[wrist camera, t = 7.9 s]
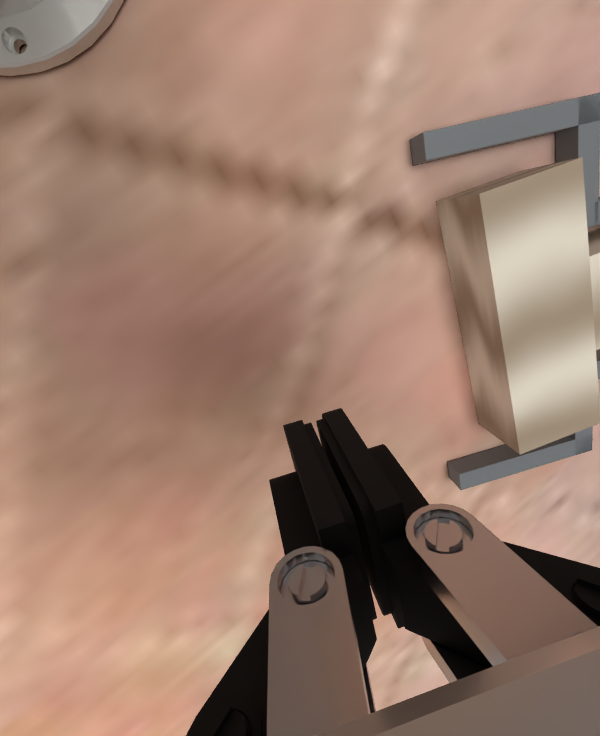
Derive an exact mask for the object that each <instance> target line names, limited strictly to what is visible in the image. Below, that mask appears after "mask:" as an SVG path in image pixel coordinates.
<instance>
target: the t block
mask: <svg viewBox="0 0 600 736" xmlns="http://www.w3.org/2000/svg"><path fill="white" fill-rule="evenodd" d="M436 205H437V210H438V215H439V221H440V226H441V231H442V236H443V241H444V247H445V252H446V257H447V262H448V267H449V273H450V278H451V283H452V288H453V293H454V299H455V304H456V309H457V314H458V319H459V325H460V330H461V335H462V340H463V345H464V351H465V356H466V361H467V366H468V371H469V377H470V382H471V387H472V392H473V397H474V402H475V408H476V413H477V418H478V423H479V424H480V425H481V426H482V427H484V428H485V429H486V430H488V431H489V432H490V433H492V434H493V435H494V436H496V437H497V438H498V439H500V440H501V441H502V442H504V443H505V444H506V445H508V446H509V447H510V448H512V449H513V450H514V451H516V452H517V453H518V454H523V453H525V452H528V451H530V450H533V449H536V448H538V447H541V446H543V445H546V444H548V443H551V442H553V441H556V440H558V439H561V438H563V437H566V436H569V435H571V434H574V433H576V432H579V431H581V430H584V429H586V428H589V427H591V426H594V425H596V424H599V423H600V401H599V387H598V373H597V359H596V350H598V349H600V228H599V229H597V230H594V231H591V232H588V230H587V215H586V201H585V187H584V172H583V158H582V157H581V158H576V159H572V160H567V161H563V162H559V163H554V164H550V165H545V166H541V167H537V168H532V169H528V170H523V171H520V172H517V173H514V174H512V175H509V176H506V177H503V178H500V179H498V180H495V181H492V182H489V183H486V184H483V185H481V186H478V187H475V188H472V189H469V190H467V191H464V192H461V193H458V194H455V195H453V196H450V197H447V198H444V199H441V200H439V201H436Z"/></svg>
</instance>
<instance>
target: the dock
mask: <svg viewBox="0 0 600 736" xmlns="http://www.w3.org/2000/svg"><path fill="white" fill-rule="evenodd" d="M552 133H555V135H556V163H559V162H563V161H567V160H572V159H576V158H581V157H582V158H583V172H584V187H585V201H586V215H587V227H591V226H595V225H599V224H600V197H599V158H600V93H596V94H592V95H587V96H583V97H579V98H574V99H570V100H565V101H561V102H556V103H552V104H547V105H543V106H539V107H534V108H530V109H525V110H521V111H516V112H512V113H508V114H503V115H499V116H494V117H490V118H485V119H481V120H476V121H472V122H468V123H463V124H459V125H454V126H450V127H445V128H441V129H436V130H432V131H428V132H423V133H421V134H420V135H418V136H416V137H414V138H412V139H410V145H411V154H412V162H413V166H414V165H418V164H423V163H427V162H431V161H436V160H440V159H444V158H448V157H453V156H457V155H461V154H466V153H470V152H474V151H479V150H483V149H487V148H492V147H496V146H500V145H504V144H509V143H513V142H517V141H522V140H526V139H530V138H535V137H539V136H543V135H548V134H552ZM598 197H599V198H598ZM596 359H597V373H598V379H600V349H598V350H596ZM592 428H593V426H591V427H589V428H586V429H584V430H581V431H579V432H576V433H574V434H571V435H569V436H566V437H563V438H561V439H558V440H556V441H553V442H551V443H548V444H546V445H543V446H541V447H538V448H536V449H533V450H530V451H528V452H525V453H523V454H518V453H517V452H516V451H514V450H513V449H512V448H510V447H509V446H508V445H506V444H505V445H502V446H499V447H495V448H492V449H489V450H485V451H482V452H479V453H475V454H472V455H469V456H465V457H462V458H459V459H455V460H452V461H449V462H447V465H448V473H449V478H450V479H451V480H452V481H453V482H454V483H455V484H456V485H457V486H458V487H459V489H460V490H463V489H466V488H470V487H473V486H476V485H479V484H483V483H486V482H489V481H492V480H496V479H499V478H502V477H506V476H509V475H512V474H515V473H519V472H522V471H525V470H528V469H532V468H535V467H538V466H541V465H545V464H548V463H551V462H555V461H558V460H561V459H564V458H568V457H571V456H574V455H577V454H581V453H584V452H587V451H590V450H592Z"/></svg>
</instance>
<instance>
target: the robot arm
mask: <svg viewBox="0 0 600 736" xmlns="http://www.w3.org/2000/svg"><path fill="white" fill-rule="evenodd" d="M123 1H124V0H0V75H2V76H16V75H23V74H30V73H38V72H42V71H45V70H48V69H50V68H53V67H56V66H58V65H61V64H63V63H66V62H68V61H70V60H71V59H73V58H74V57H76V56H77V55H79V54H80V53H81V52H83V51H84V50H86V49H87V48H89V47H90V46H92V45H93V43H94V42H95V41H96V40H97V39H98V38H99V37H100V36H101V34H102V33H103V32H104V31H105V30H106V29H107V28H108V27H109V25H110V24H111V23H112V21H113V20H114V18H115V16H116V14H117V12H118V11H119V9H120V7H121V5H122V3H123ZM23 44H27V47H26V50H25V52H23V53H21V54H20V52H19V48H20V46H21V45H23ZM322 418H323V419H321V420H318V421H316V422H317V427H318V431H319V436H320V440H321V443H320V441H319V439H318V437H317V435H316V432H315V430H314V428H313V426H312V424H311V423H308V424H304V423H303V421H302V420H300V421H296V422H293V423H290V424H286V425H283V427H284V431H285V434H286V438H287V442H288V445H289V449H290V452H291V456H292V460H293V463H294V467H295V470H296V472H293V473H290V474H286V475H283V476H280V477H277V478H274V479H270V480H269V481H270V487H271V491H272V496H273V501H274V506H275V510H276V515H277V520H278V525H279V529H280V534H281V539H282V544H283V548H284V553H285V556H284V557H283V558H282V559H281V560H280V561H279V562H278V563H277V564H276V566H275V568H274V570H273V572H272V574H271V579H270V584H269V610H268V611H267V613H266V614H265V616H264V617H263V619H262V620H261V622H260V623H259V625H258V626H257V627H256V629H255V630H254V632H253V633H252V635H251V636H250V638H249V639H248V641H247V642H246V644H245V645H244V647H243V648H242V650H241V651H240V653H239V654H238V656H237V657H236V658H235V660H234V661H233V663H232V664H231V666H230V667H229V669H228V670H227V672H226V673H225V675H224V676H223V678H222V679H221V681H220V682H219V684H218V685H217V687H216V688H215V689H214V691H213V692H212V694H211V695H210V697H209V698H208V700H207V701H206V703H205V704H204V706H203V707H202V709H201V710H200V712H199V713H198V715H197V716H196V718H195V720H194V721H193V723H192V725H191V727H190V729H189V731H188V733H187V735H186V736H600V568H598V567H594V566H590V565H587V564H583V563H579V562H576V561H572V560H568V559H565V558H561V557H558V556H554V555H550V554H547V553H543V552H539V551H536V550H532V549H528V548H525V547H521V546H517V545H514V544H510V543H507V542H503V541H501V540H500V539H499V538H498V537H496V536H495V535H494V534H493V533H492V532H491V531H490V530H488V529H487V528H486V527H485V526H484V525H483V524H482V523H481V522H479V521H478V520H477V519H476V518H475V517H474V516H473V515H471V514H470V513H468V512H467V511H465V510H464V509H462V508H459V507H456V506H453V505H448V504H431V505H429V504H428V502H427V501H426V500H425V498H424V497H423V496H422V494H421V493H420V491H419V490H418V489H417V487H416V486H415V485H414V483H413V482H412V481H411V479H410V478H409V477H408V475H407V474H406V472H405V471H404V470H403V468H402V467H401V466H400V464H399V463H398V462H397V460H396V459H395V458H394V456H393V455H392V453H391V452H390V451H389V449H388V448H387V447H386V446H385V445H383V444H382V445H379V446H375V447H372V448H369V449H368V448H367V447H366V445H365V443H364V442H363V440H362V439H361V437H360V436H359V434H358V433H357V431H356V430H355V428H354V427H353V425H352V424H351V422H350V420H349V419H348V417H347V416H346V414H345V413H344V411H343V410H342V409H341V408H339V409H336V410H333V411H329V412H326V413H323V414H322ZM321 444H322V445H321ZM369 583H370V584H369ZM370 586H371V588H372V590H373V593H374V595H375V598H376V600H377V602H378V605H379V607H380V609H381V612H382V614H383V615H384V616H385V615H388V614H390V613H392V616H393V618H394V620H395V622H396V625H397V627H398V628H401V627H405V629H407V630H409V631H411V632H414V633H416V634H418V635H420V636H422V639H423V641H424V643H425V646H426V648H427V650H428V651H429V653H430V654H431V656H432V657H433V659H434V660H435V662H436V663H437V665H438V666H439V668H440V669H441V671H442V672H443V674H444V675H445V677H446V678H447V680H448V681H449V684H446V685H444V686H441V687H439V688H436V689H433V690H431V691H428V692H426V693H423V694H420V695H418V696H415V697H413V698H410V699H407V700H405V701H402V702H400V703H397V704H394V705H392V706H389V707H387V708H384V709H381V710H379V711H376V708H375V703H374V698H373V693H372V687H371V682H370V677H369V672H368V668H367V664H366V663H367V661H368V659H369V656H370V654H371V652H372V649H373V647H374V645H375V642H376V640H377V638H376V633H375V629H374V624H373V620H374V619H377V616H376V611H375V607H374V602H373V598H372V593H371V588H370Z"/></svg>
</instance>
